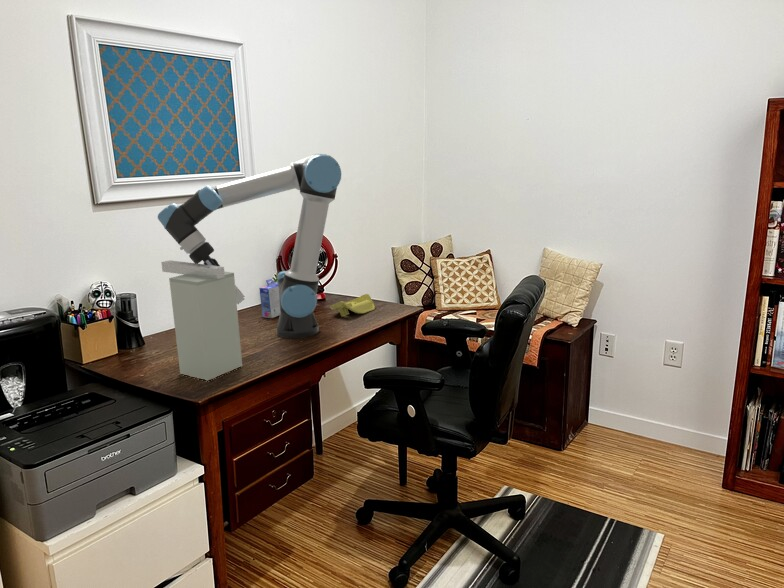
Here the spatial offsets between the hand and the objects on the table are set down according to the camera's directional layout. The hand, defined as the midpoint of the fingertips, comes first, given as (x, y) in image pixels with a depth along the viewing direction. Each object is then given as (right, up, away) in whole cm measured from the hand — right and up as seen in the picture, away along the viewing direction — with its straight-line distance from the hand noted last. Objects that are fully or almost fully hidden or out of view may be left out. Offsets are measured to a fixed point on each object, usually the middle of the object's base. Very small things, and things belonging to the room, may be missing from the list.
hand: (241, 300), depth 203 cm
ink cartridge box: (+2, -7, +49) cm, 49 cm away
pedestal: (-7, -22, -11) cm, 25 cm away
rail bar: (-11, +8, -16) cm, 21 cm away
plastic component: (+32, -6, +49) cm, 59 cm away
